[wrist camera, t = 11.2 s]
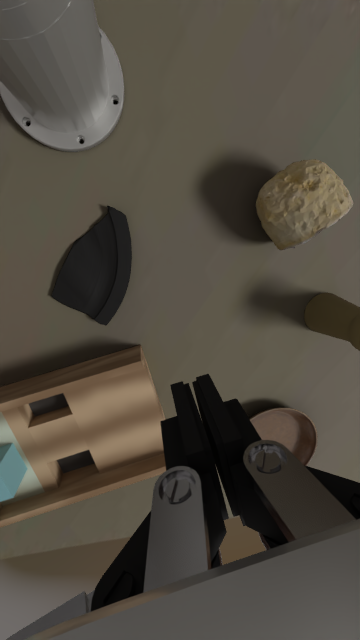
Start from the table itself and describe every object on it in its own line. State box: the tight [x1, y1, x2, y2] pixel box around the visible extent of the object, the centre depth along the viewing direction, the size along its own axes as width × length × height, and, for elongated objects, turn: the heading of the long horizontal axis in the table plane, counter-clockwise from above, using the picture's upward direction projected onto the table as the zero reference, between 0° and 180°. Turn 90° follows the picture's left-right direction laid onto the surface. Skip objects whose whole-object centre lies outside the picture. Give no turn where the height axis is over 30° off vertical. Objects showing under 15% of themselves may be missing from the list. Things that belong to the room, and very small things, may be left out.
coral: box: [256, 159, 353, 250], centre depth 32 cm, size 10×10×10 cm
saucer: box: [249, 408, 318, 466], centre depth 45 cm, size 15×15×3 cm
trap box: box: [0, 345, 166, 527], centre depth 38 cm, size 17×26×6 cm, turn 105°
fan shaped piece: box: [52, 206, 132, 325], centre depth 35 cm, size 8×14×2 cm, turn 150°
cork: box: [304, 293, 360, 351], centre depth 36 cm, size 6×6×11 cm
